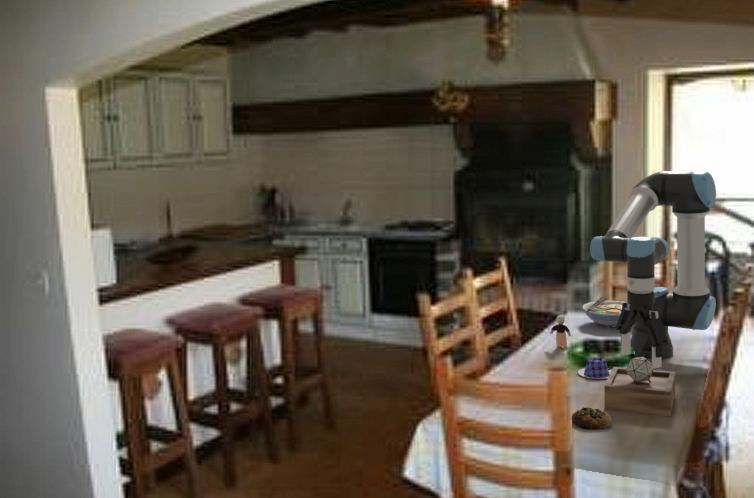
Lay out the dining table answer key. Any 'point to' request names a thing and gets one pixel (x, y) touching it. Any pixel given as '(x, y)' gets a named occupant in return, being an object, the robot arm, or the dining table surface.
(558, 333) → the grandmother figurine
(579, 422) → the bread roll
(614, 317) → the ramen bowl
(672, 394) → the walnut box
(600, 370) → the pudding
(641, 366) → the game die
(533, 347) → the dining table surface
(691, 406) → the dining table surface
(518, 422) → the dining table surface
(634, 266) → the robot arm
